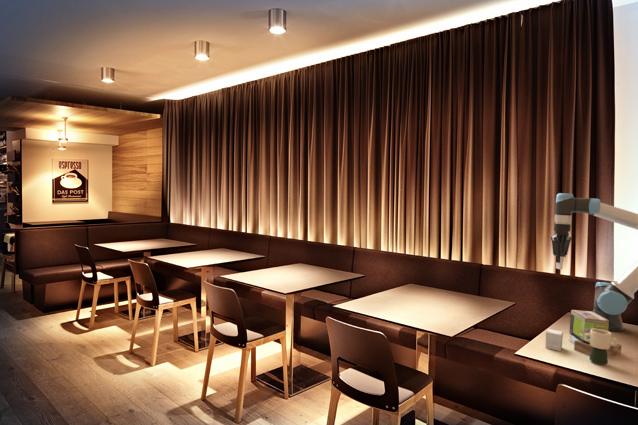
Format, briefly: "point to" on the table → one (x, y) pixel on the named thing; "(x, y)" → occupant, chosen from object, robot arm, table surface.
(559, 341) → the skincare box
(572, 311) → the tea box
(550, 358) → the table surface
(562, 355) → the table surface
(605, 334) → the character mug
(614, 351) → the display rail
